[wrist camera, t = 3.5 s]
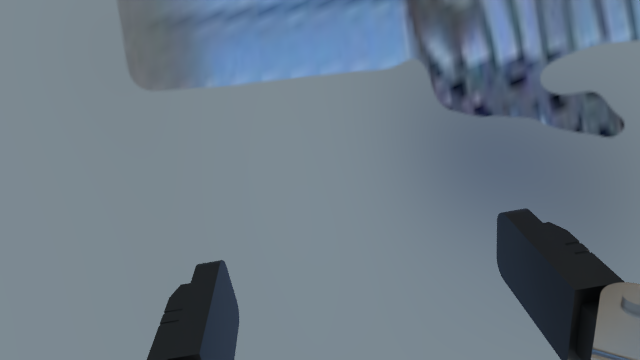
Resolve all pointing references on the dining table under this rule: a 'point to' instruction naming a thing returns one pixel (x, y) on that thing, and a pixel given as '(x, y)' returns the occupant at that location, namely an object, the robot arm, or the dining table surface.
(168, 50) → the dining table surface
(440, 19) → the dining table surface
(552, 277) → the robot arm
